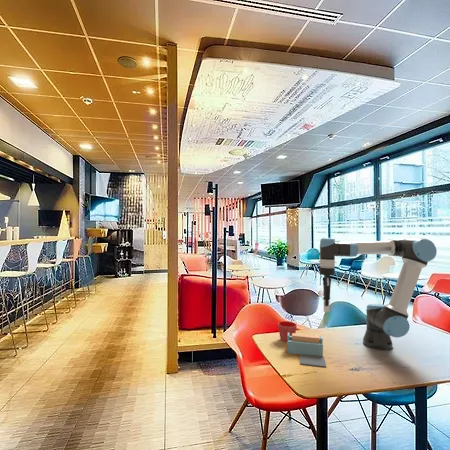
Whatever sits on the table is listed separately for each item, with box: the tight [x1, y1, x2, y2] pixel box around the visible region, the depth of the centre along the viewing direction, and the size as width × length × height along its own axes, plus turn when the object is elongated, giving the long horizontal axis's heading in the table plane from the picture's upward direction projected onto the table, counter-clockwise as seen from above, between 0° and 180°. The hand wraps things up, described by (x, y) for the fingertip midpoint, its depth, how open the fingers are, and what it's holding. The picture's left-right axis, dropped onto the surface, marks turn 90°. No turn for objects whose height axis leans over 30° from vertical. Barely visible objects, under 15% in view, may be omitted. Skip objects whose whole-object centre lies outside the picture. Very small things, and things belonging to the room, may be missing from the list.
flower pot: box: [277, 320, 298, 343], centre depth 176 cm, size 11×11×10 cm
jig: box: [286, 333, 324, 357], centre depth 159 cm, size 18×9×9 cm, turn 77°
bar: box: [292, 333, 320, 343], centre depth 159 cm, size 14×4×4 cm, turn 77°
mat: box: [299, 354, 327, 368], centre depth 147 cm, size 12×10×1 cm
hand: (326, 311), depth 157 cm, fingers closed
